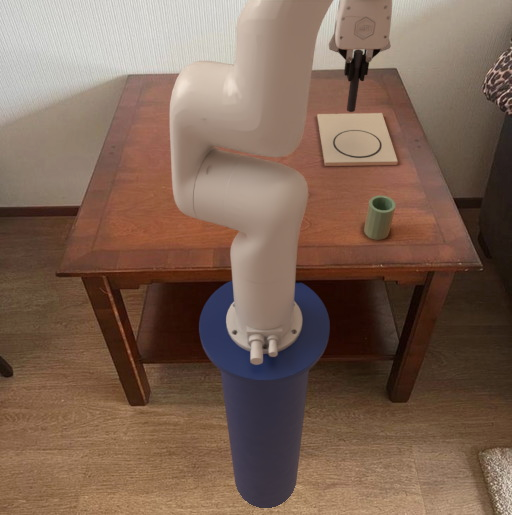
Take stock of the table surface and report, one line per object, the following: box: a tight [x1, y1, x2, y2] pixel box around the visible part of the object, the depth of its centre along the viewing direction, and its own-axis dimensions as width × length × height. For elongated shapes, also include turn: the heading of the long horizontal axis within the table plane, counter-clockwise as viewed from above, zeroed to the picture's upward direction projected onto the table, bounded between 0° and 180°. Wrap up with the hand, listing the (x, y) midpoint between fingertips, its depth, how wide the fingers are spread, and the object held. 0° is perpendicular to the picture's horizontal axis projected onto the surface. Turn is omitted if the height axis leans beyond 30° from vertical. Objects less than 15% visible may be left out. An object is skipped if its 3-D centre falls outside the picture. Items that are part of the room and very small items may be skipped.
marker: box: [346, 49, 364, 113], centre depth 106 cm, size 2×2×13 cm
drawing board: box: [316, 112, 399, 167], centre depth 119 cm, size 20×16×1 cm
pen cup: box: [363, 194, 397, 241], centre depth 96 cm, size 5×5×7 cm
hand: (355, 77), depth 105 cm, fingers closed on marker, 1 cm apart
